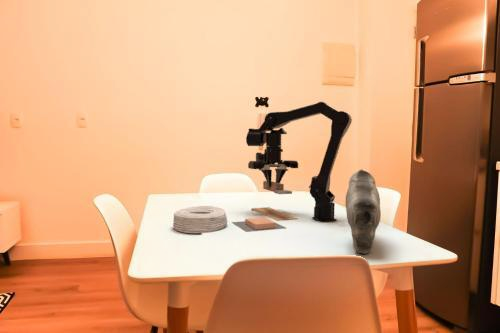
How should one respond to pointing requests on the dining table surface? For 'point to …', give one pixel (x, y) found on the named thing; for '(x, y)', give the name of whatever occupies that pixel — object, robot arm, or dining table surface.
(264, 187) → the brown wooden plank
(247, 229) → the mat
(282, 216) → the board
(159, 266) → the dining table surface
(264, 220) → the tile
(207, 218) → the cable
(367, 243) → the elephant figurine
